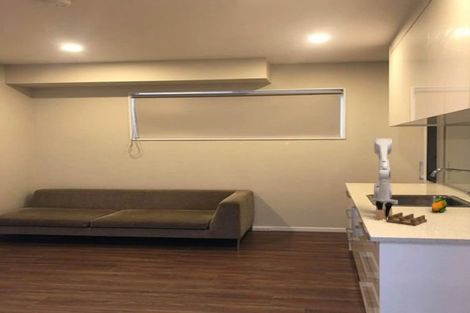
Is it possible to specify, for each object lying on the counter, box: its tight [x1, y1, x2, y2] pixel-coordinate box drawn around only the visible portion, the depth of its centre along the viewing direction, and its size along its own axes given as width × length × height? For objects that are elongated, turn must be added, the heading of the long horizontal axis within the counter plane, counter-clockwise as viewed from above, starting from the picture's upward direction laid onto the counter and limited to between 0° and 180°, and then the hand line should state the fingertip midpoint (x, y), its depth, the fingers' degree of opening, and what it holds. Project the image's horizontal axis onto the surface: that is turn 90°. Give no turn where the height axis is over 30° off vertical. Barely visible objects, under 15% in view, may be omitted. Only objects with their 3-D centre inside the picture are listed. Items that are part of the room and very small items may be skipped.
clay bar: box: [374, 208, 393, 221], centre depth 239 cm, size 14×3×5 cm, turn 136°
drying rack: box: [385, 212, 428, 227], centre depth 229 cm, size 16×15×3 cm
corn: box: [431, 198, 448, 213], centre depth 260 cm, size 7×8×20 cm
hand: (383, 215), depth 239 cm, fingers closed on clay bar, 3 cm apart
